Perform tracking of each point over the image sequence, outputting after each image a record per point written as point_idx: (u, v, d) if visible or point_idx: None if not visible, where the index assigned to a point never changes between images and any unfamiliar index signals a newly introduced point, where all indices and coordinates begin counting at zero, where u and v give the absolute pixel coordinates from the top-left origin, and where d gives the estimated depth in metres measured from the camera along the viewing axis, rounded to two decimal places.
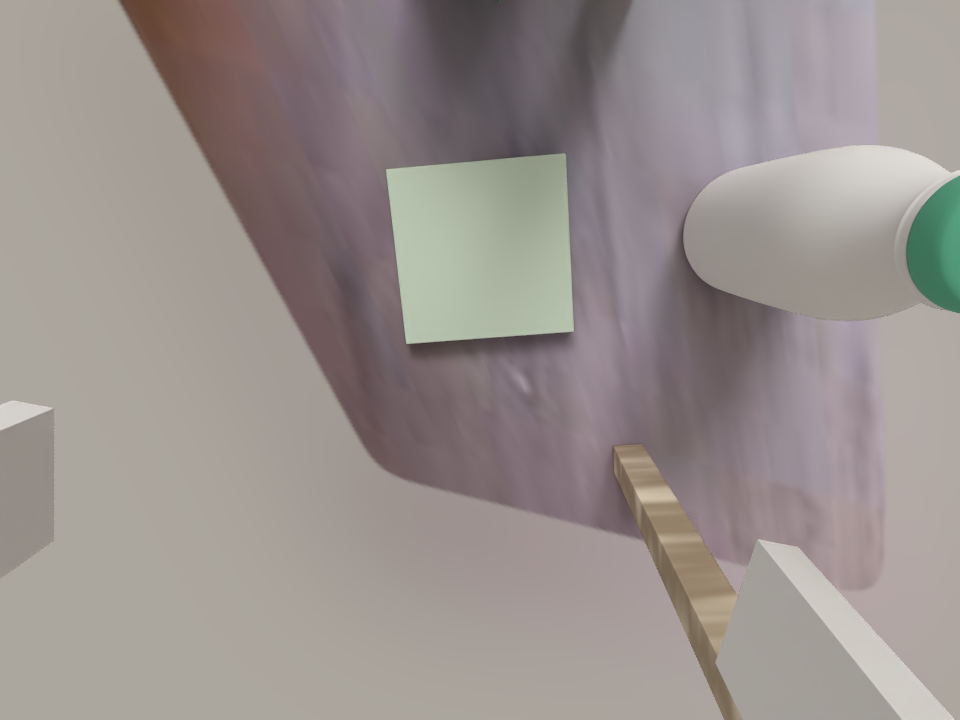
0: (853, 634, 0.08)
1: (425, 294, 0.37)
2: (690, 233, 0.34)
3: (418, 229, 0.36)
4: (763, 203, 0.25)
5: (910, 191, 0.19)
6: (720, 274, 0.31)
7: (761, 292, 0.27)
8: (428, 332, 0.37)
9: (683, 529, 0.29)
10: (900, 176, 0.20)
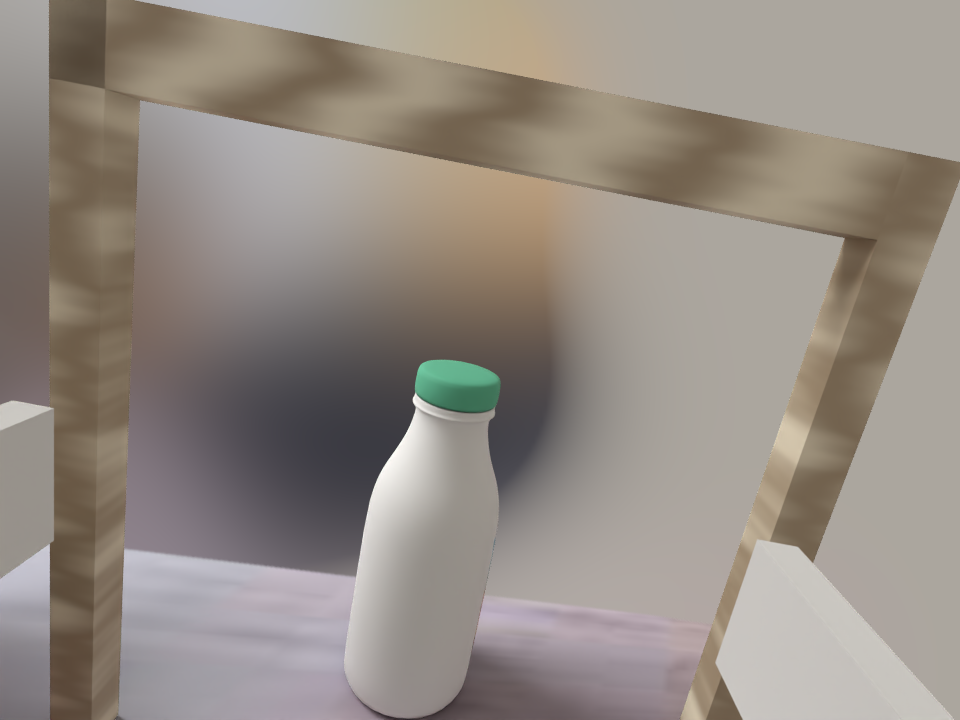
0: (853, 634, 0.08)
1: None
2: (394, 692, 0.32)
3: None
4: (392, 547, 0.30)
5: (417, 425, 0.30)
6: (444, 640, 0.31)
7: (467, 573, 0.31)
8: None
9: (712, 646, 0.26)
10: (405, 440, 0.31)
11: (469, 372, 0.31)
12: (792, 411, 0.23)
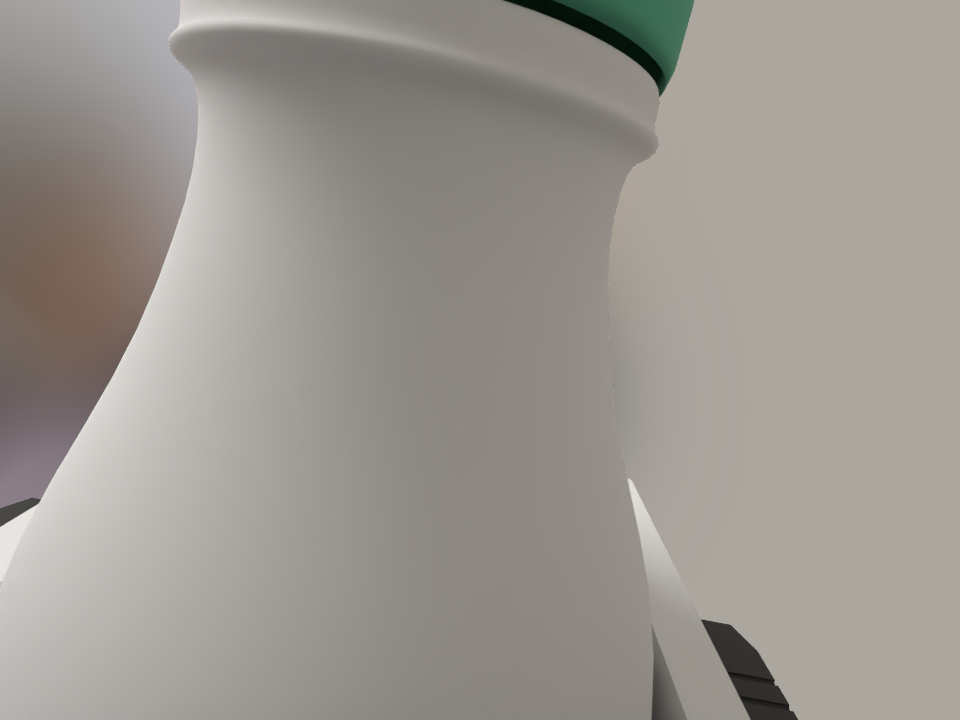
0: None
1: None
2: None
3: None
4: None
5: (191, 183, 0.05)
6: None
7: None
8: None
9: None
10: None
11: None
12: None
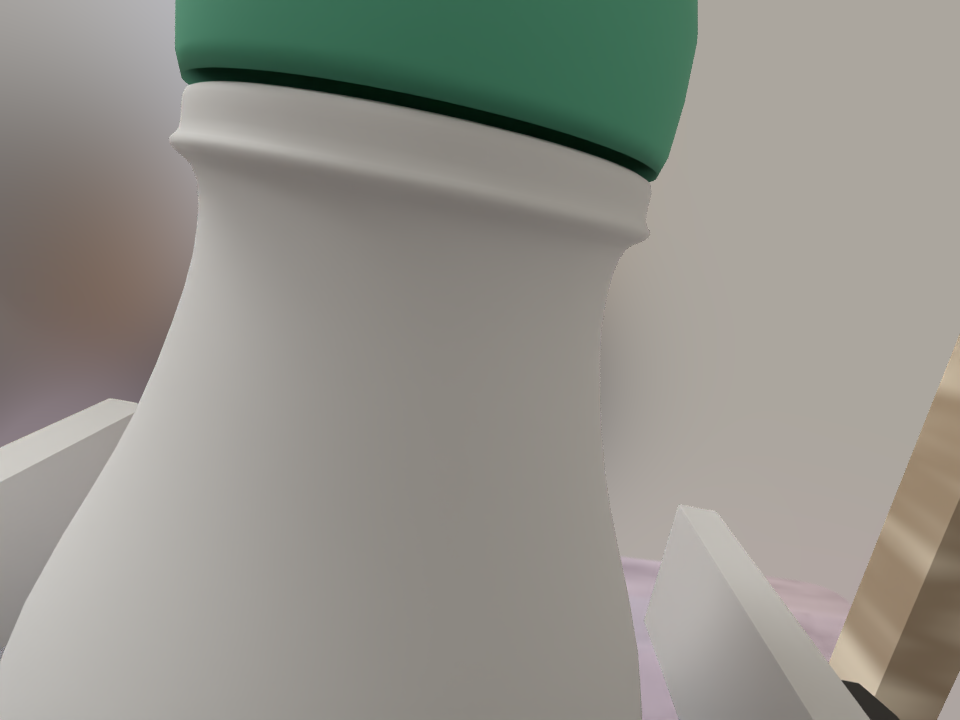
0: (745, 581, 0.09)
1: None
2: None
3: None
4: None
5: (190, 274, 0.05)
6: None
7: None
8: None
9: (886, 559, 0.17)
10: None
11: None
12: None
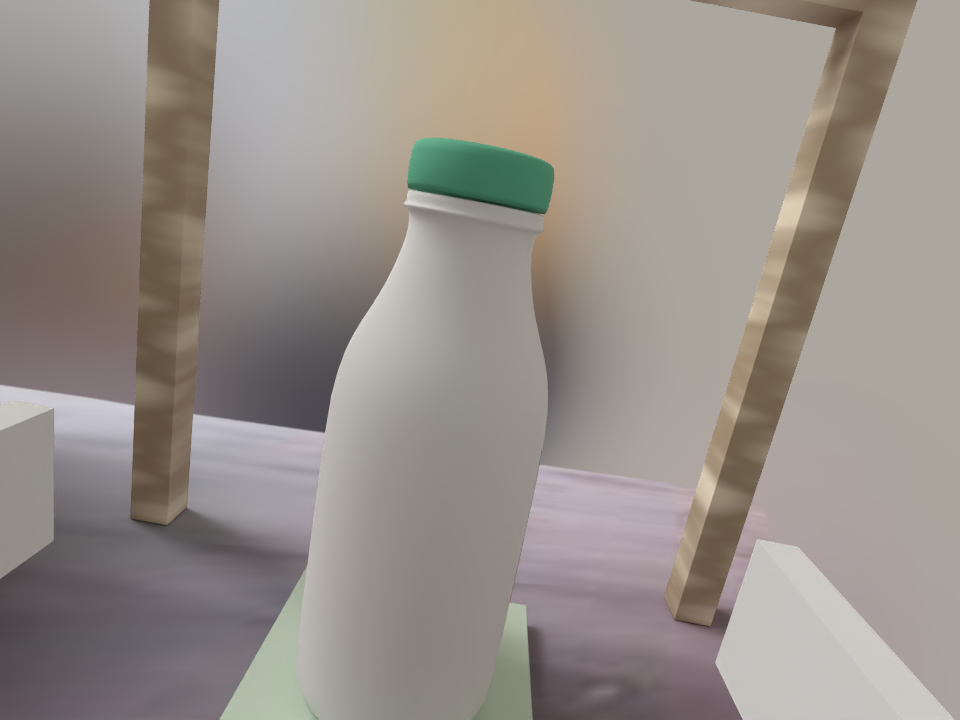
0: (853, 634, 0.08)
1: None
2: (374, 708, 0.18)
3: None
4: (370, 450, 0.17)
5: (411, 241, 0.18)
6: (460, 618, 0.18)
7: (500, 498, 0.18)
8: None
9: (723, 418, 0.30)
10: (391, 274, 0.18)
11: None
12: (792, 189, 0.27)
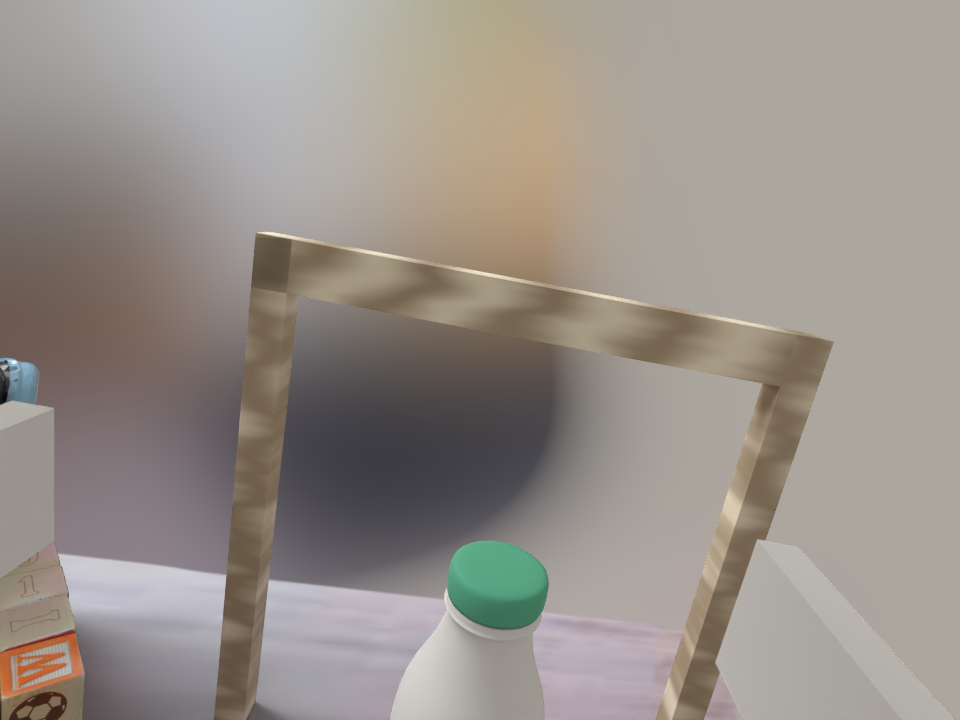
0: (853, 634, 0.08)
1: None
2: None
3: None
4: None
5: (450, 634, 0.25)
6: None
7: None
8: None
9: (683, 647, 0.38)
10: (435, 648, 0.26)
11: (511, 569, 0.26)
12: (733, 489, 0.35)
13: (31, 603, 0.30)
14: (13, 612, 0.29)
